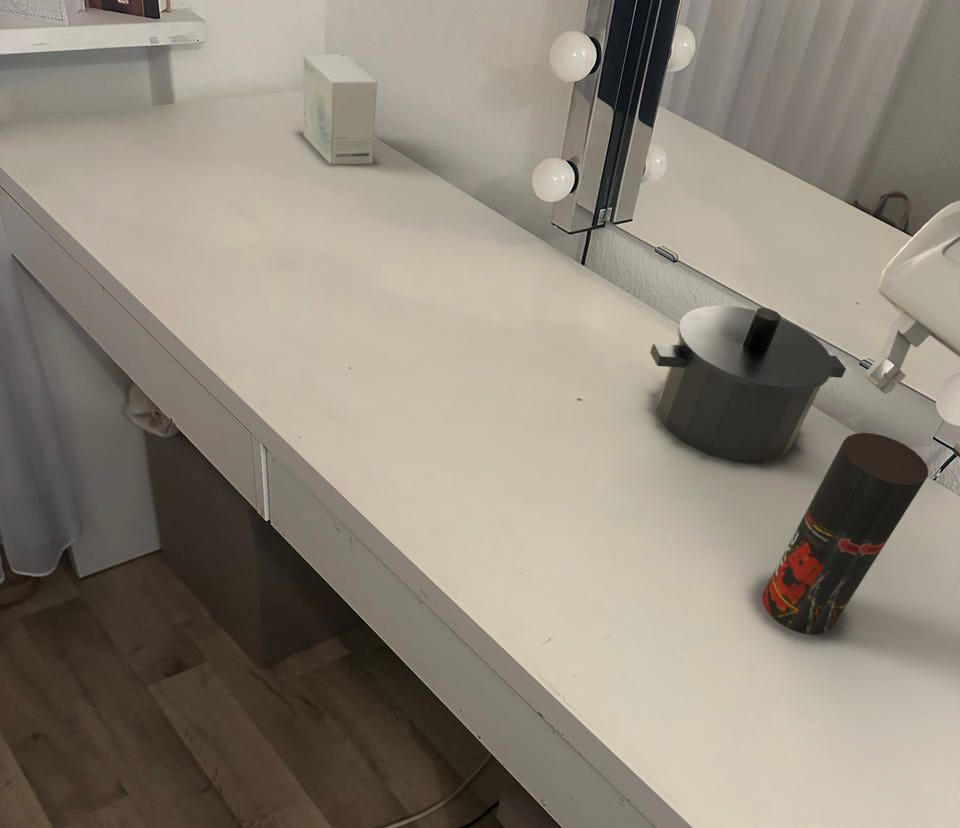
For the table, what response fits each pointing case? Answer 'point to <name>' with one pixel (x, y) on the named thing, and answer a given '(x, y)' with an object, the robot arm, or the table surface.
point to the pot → (728, 410)
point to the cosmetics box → (339, 108)
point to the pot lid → (755, 348)
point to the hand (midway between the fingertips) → (916, 421)
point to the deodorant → (843, 531)
